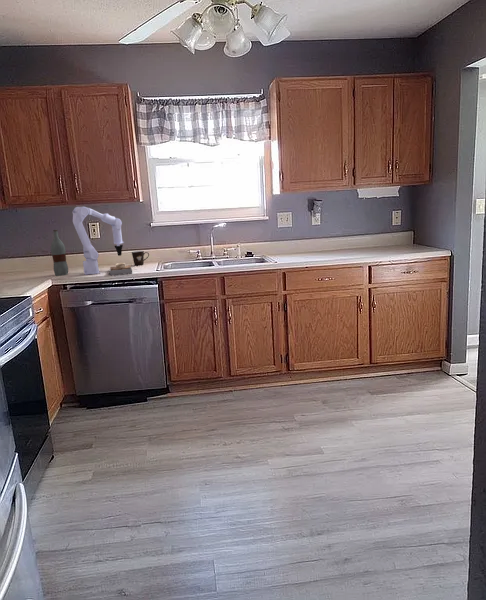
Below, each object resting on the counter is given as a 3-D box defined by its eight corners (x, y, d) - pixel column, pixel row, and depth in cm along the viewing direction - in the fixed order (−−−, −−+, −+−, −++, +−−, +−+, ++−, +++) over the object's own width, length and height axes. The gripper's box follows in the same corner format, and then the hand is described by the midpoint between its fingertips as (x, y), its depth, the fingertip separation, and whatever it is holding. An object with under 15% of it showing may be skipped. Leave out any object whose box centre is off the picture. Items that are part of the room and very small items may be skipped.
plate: (110, 273, 307) (109, 269, 307) (110, 270, 319) (110, 266, 318) (131, 271, 310) (131, 267, 310) (131, 268, 322) (131, 265, 321)
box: (109, 275, 297) (109, 270, 296) (110, 273, 307) (109, 268, 306) (132, 273, 300) (131, 268, 299) (131, 271, 310) (131, 266, 309)
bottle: (61, 273, 318) (55, 229, 312) (72, 273, 315) (65, 228, 308) (51, 275, 310) (44, 230, 303) (62, 275, 306) (55, 230, 300)
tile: (116, 268, 310) (115, 264, 309) (116, 267, 315) (115, 263, 315) (125, 267, 311) (124, 263, 310) (125, 266, 317) (124, 262, 316)
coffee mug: (131, 266, 334) (130, 252, 332) (134, 264, 342) (133, 250, 340) (147, 265, 333) (146, 251, 331) (150, 263, 342) (148, 250, 339)
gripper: (123, 236, 312) (125, 256, 315) (123, 234, 326) (125, 253, 329) (112, 236, 310) (115, 257, 313) (113, 235, 324) (115, 254, 327)
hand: (119, 255), depth 321 cm, fingers closed
